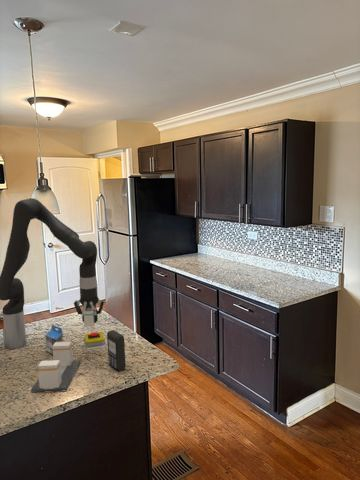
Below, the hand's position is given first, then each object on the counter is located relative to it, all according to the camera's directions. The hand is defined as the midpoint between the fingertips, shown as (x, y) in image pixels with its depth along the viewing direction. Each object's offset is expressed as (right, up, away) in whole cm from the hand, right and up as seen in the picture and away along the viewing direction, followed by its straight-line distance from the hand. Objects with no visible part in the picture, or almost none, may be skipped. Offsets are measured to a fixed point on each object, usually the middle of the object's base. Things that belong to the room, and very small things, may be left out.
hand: (90, 322), depth 162 cm
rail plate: (-9, -18, -17) cm, 26 cm away
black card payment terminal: (+14, -17, -11) cm, 24 cm away
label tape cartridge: (-18, -15, +4) cm, 24 cm away
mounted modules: (-9, -17, -17) cm, 26 cm away
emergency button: (-2, -14, +15) cm, 21 cm away
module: (0, -1, 0) cm, 1 cm away
